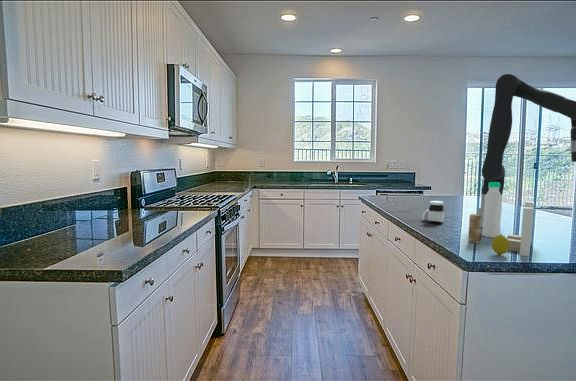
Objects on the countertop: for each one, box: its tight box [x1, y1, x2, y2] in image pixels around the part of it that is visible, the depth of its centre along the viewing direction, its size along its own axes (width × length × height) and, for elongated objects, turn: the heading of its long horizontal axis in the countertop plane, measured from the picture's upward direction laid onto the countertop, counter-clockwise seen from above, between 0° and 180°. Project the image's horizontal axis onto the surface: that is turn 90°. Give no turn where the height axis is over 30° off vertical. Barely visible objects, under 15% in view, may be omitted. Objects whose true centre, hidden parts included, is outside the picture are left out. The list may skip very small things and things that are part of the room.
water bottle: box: [481, 182, 503, 239], centre depth 161 cm, size 7×7×25 cm
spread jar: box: [421, 200, 445, 225], centre depth 194 cm, size 12×11×12 cm
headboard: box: [507, 200, 535, 257], centre depth 142 cm, size 8×22×18 cm, turn 144°
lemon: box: [491, 233, 509, 256], centre depth 133 cm, size 6×6×8 cm
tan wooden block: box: [467, 213, 483, 244], centre depth 152 cm, size 5×4×12 cm
